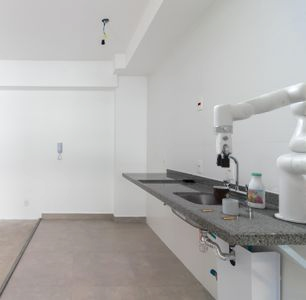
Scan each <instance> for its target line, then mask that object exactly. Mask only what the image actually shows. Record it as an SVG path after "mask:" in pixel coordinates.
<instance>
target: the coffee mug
mask: <svg viewBox="0 0 306 300" xmlns="http://www.w3.org/2000/svg"><path fill="white" fill-rule="evenodd" d="M212 188H213V189H212V190H213V196H214V202H215V204H218V205H222V199H229V195H230V190H231V187H229V186H221V185H213V186H212Z"/></svg>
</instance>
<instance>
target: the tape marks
mask: <svg viewBox="0 0 306 300" xmlns="http://www.w3.org/2000/svg"><path fill="white" fill-rule="evenodd" d="M201 212H213V210H212V209H203V210H202V211H201ZM223 219H224V220H233V219H235V220H236V217H233V216H232V217H223Z"/></svg>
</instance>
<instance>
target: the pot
mask: <svg viewBox="0 0 306 300" xmlns="http://www.w3.org/2000/svg"><path fill="white" fill-rule="evenodd" d="M239 203H240V202H239V200H237V199H232V198H228V199H222V204H221V205H222V207H221V208H222V214H224V215H227V216H239V214H240V213H239V211H240V210H239V209H240V208H239V206H240V204H239Z"/></svg>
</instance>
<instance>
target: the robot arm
mask: <svg viewBox="0 0 306 300" xmlns="http://www.w3.org/2000/svg"><path fill="white" fill-rule="evenodd" d="M289 105H290V112H291V114H292V115H293V117H294V118H295V120H296V127H295V129H294V131H293V134H292V136H291V138H290V140H289V143H288V149H289V150H290V151H291V152H293V153H287V154H285V153H284V154H281V155H280V156H279V157H277V159H276V161H275V165H276V169H277V173H278V212H277V213H274V217H275V218H276V219H278V220H282V221H285V222H290V223H296V224H306V178H305V176H306V81H303V82H300V83H296V84H293V85H290V86H286V87H283V88H279V89H276V90H273V91H271V92H268V93H265V94H260V95H258V96H256V97H253V98H250V99H247V100H245V101H242V102H239V103H233V104H231V103H221V104H217V105H215V106H214V107H213V135H215V152H216V153H215V154H216V166H217V167H220V168H222V169H229V168H231V157H230V156H231V155H232V154H233V138H232V137H233V136H232V134H234V122H237V121H243V120H247V119H249V118H251V117H252V116H256V115H260V114H265V113H268V112H273V111H274V110H278V109H281V108H284V107H286V106H289Z"/></svg>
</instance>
